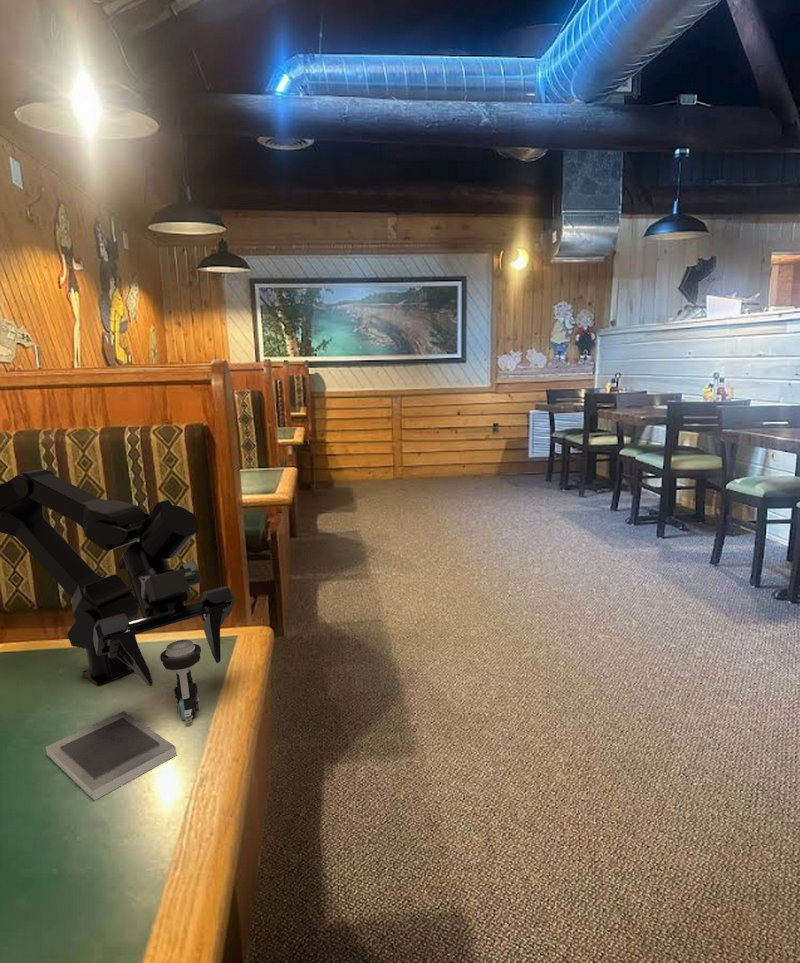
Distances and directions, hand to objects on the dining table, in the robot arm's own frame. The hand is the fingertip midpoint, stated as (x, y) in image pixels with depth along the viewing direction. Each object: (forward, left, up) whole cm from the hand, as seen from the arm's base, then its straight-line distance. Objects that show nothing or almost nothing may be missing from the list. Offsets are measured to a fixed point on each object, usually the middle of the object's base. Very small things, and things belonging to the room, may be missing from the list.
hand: (186, 673), depth 82 cm
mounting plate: (-1, -11, -7) cm, 13 cm away
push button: (-1, 0, -7) cm, 7 cm away
